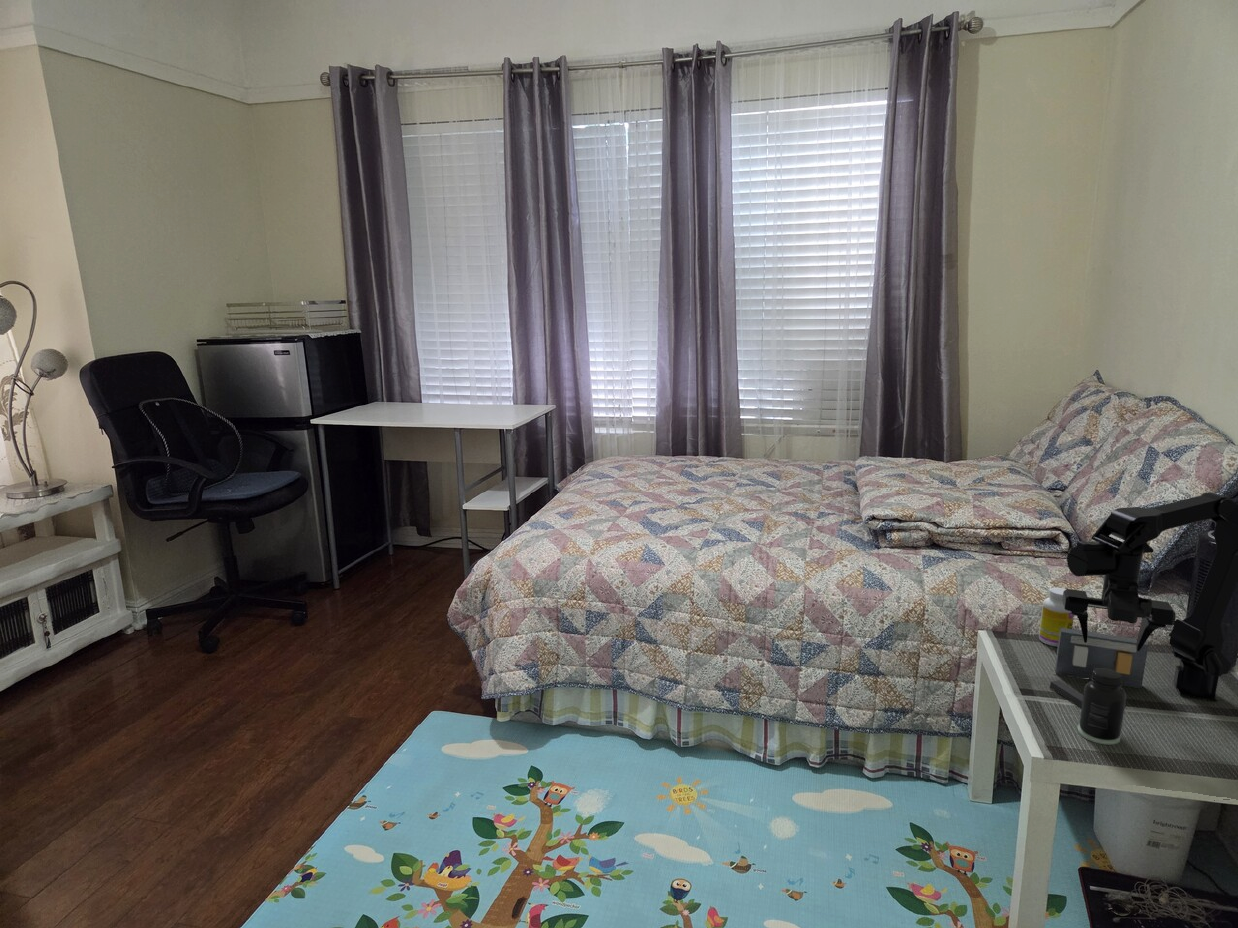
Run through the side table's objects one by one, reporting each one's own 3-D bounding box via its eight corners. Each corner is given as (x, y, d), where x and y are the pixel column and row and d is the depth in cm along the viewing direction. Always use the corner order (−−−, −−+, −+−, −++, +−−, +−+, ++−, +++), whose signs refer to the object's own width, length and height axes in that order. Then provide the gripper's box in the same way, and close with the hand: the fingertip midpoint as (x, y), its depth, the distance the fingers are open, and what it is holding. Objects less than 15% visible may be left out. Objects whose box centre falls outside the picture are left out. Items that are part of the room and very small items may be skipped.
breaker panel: (1139, 683, 172) (1146, 640, 169) (1141, 689, 169) (1148, 645, 167) (1054, 669, 178) (1060, 627, 175) (1055, 674, 175) (1061, 632, 173)
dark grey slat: (1049, 689, 170) (1050, 681, 170) (1058, 687, 171) (1059, 680, 170) (1103, 724, 157) (1105, 715, 157) (1113, 722, 158) (1114, 714, 157)
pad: (1117, 729, 154) (1117, 726, 154) (1122, 748, 148) (1123, 745, 148) (1075, 721, 157) (1076, 718, 157) (1079, 739, 151) (1080, 736, 151)
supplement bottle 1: (1068, 650, 187) (1075, 598, 184) (1036, 643, 190) (1043, 592, 187) (1071, 639, 192) (1078, 589, 189) (1040, 633, 196) (1046, 583, 193)
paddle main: (1128, 671, 169) (1131, 654, 169) (1129, 674, 168) (1132, 656, 167) (1115, 669, 170) (1117, 652, 169) (1116, 672, 169) (1118, 654, 168)
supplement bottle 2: (1129, 738, 150) (1138, 680, 148) (1099, 743, 149) (1108, 684, 146) (1099, 719, 157) (1107, 662, 154) (1070, 724, 155) (1078, 667, 152)
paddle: (1085, 664, 173) (1087, 647, 172) (1085, 667, 171) (1088, 650, 170) (1072, 662, 173) (1074, 645, 173) (1073, 665, 172) (1075, 648, 171)
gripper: (1072, 579, 155) (1062, 654, 159) (1187, 594, 148) (1174, 672, 152) (1067, 561, 165) (1057, 631, 169) (1174, 574, 158) (1162, 647, 161)
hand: (1111, 645), depth 162 cm, fingers open, 9 cm apart
